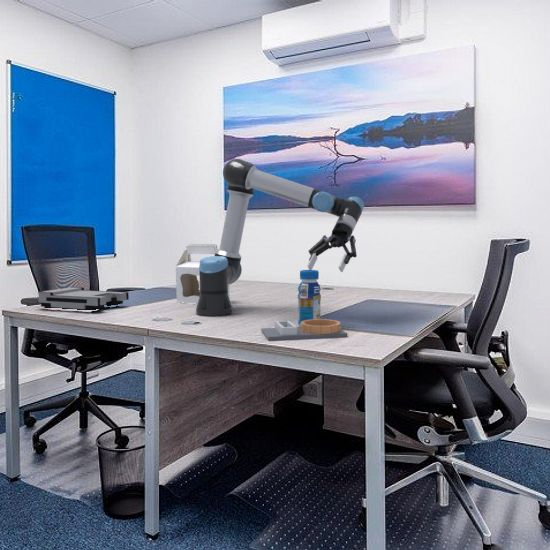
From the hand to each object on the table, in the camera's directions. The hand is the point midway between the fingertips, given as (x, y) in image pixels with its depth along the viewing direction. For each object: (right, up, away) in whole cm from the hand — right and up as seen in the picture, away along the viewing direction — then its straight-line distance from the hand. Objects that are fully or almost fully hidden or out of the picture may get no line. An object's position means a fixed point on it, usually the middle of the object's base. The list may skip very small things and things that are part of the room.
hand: (324, 268), depth 192 cm
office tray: (-104, -18, +37) cm, 112 cm away
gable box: (-53, -16, +52) cm, 76 cm away
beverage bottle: (-6, -21, -7) cm, 23 cm away
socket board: (-9, -22, -23) cm, 33 cm away
